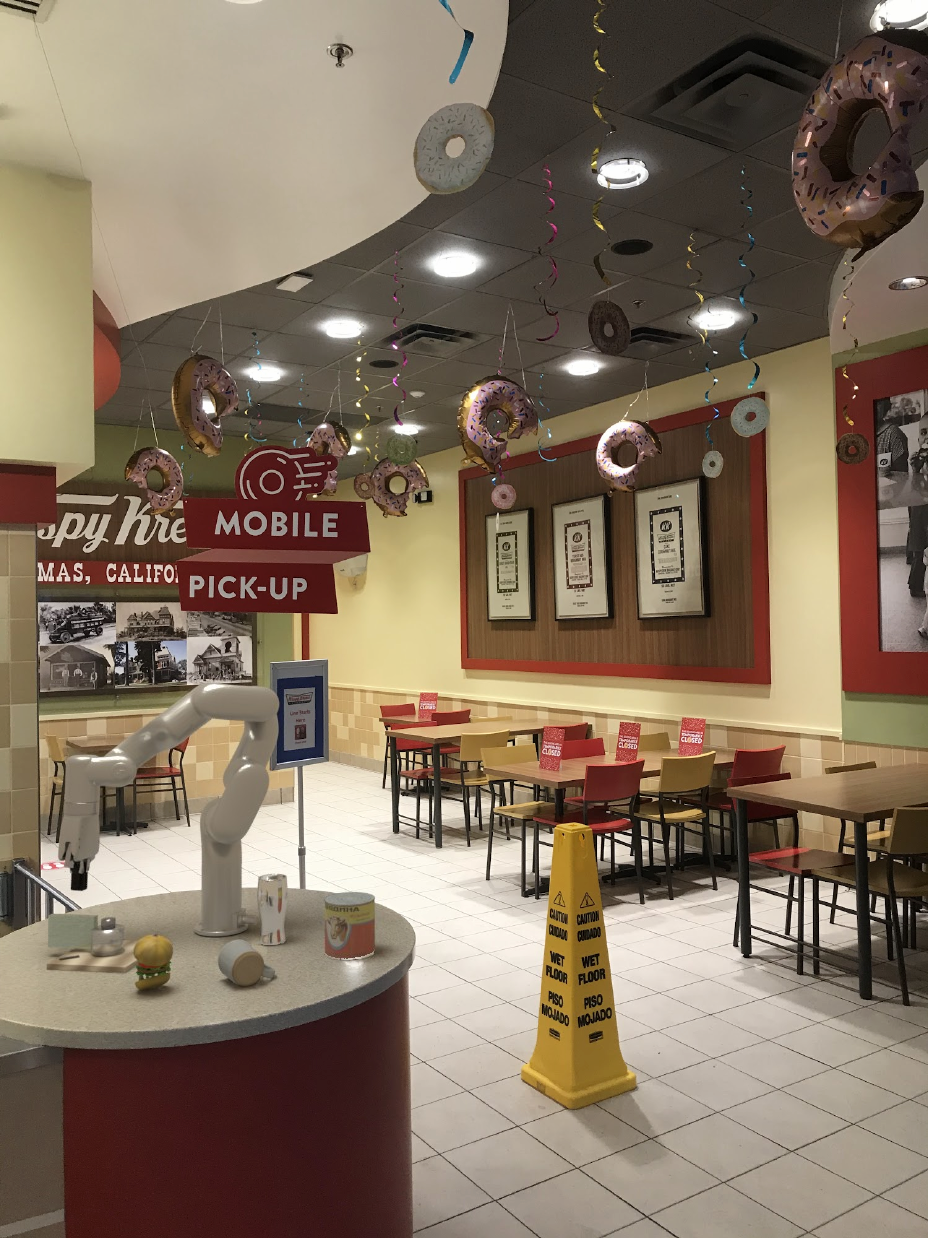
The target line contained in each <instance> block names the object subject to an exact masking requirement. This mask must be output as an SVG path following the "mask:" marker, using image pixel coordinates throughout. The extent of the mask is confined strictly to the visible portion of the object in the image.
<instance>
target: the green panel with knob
mask: <svg viewBox="0 0 928 1238" xmlns="http://www.w3.org/2000/svg"><path fill="white" fill-rule="evenodd" d="M47 919H48V924H47V925H48V926H47V927H48V928H47V930H48V931H47V948H54V949H56V948H57V949H58V948H60V949H91V954H92V955H96V956H109V955H115V954H119V953H121V952H123V951H124V950H125V940H126V925H125V924H121V923H117V919H116V917H114V916H110V917H109V916H107V917H102V918H101V919H100V921H101V922H100V925H98V924H99V915H97V914H79V913H78V914H76V913H75V914H74V913H73V914H72V913H51V914H48V917H47Z"/></svg>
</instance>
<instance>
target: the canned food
mask: <svg viewBox="0 0 928 1238" xmlns="http://www.w3.org/2000/svg"><path fill="white" fill-rule="evenodd" d="M375 899H376V896H375V895H373V894H371V893H368V892H360V891H359V892H358V891H347V892H346V891H345V892H337V893H332V894H330V895H328V896H326V897H324V900H323V901H324V952H325V953H326V954H327V955H328V956H331V957H335V958H340V959H341V958H344V959H345V958H346V959H348V958H355V957H361V956H365V955H367V954H370V953H372V952H373V951H374V949H375V950H376V947H375V946H376V938H375V937H376V936H375V935H376V933H375V932H376V930H375V928H376V927H375V925H376V923H375V922H376V921H375V920H376V919H375V914H376V913H375V912H376V908H375Z"/></svg>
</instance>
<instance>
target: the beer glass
mask: <svg viewBox="0 0 928 1238" xmlns="http://www.w3.org/2000/svg"><path fill="white" fill-rule="evenodd" d="M287 877H288V875H286V874H284V873H270V874H269V873H268V874H262V875H260V876H258V879H257V890H256V898H257V900H256V901H257V908H258V910H257V911H258V915H259V920H260V933H259V934H260V935H259V941H258V942H259V945H261V944H263V945H262V946H264V945H274V944H280V943H283V942H284V941H287V938H286V934H285V932H286V931H285V919H286V913H287V908H288V901H289V900H288V898H289V891H288V890H289V888H288V887H289V886H288V878H287ZM283 944H284V943H283Z"/></svg>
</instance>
